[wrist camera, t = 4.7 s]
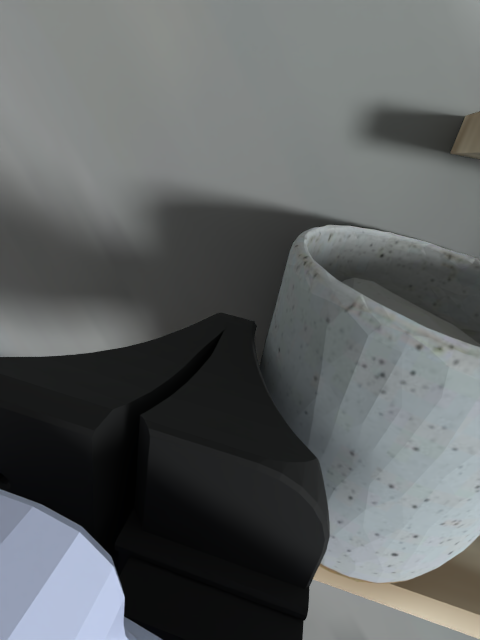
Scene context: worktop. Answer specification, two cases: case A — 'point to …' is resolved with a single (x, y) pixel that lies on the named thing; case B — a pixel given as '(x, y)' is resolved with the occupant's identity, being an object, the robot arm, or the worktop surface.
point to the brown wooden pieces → (459, 572)
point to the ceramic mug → (383, 394)
